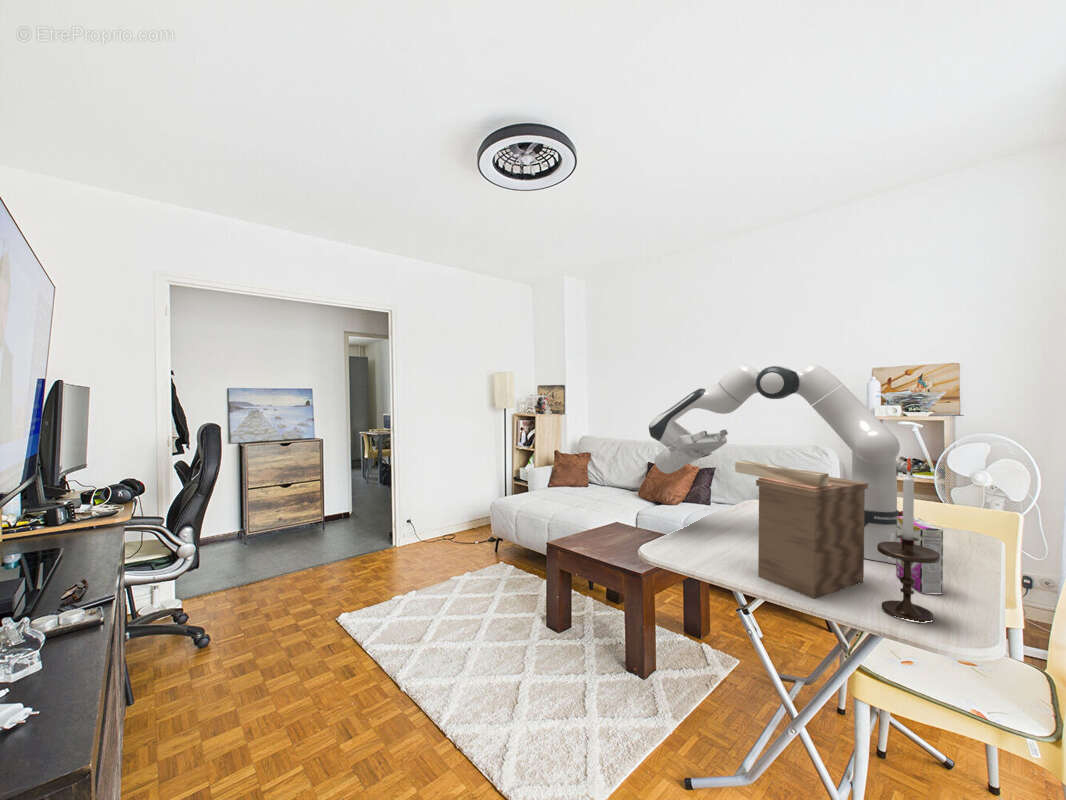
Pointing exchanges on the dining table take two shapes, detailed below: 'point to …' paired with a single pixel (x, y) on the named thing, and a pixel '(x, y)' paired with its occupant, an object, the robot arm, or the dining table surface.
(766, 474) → the birch block
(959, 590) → the dining table surface
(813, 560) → the walnut shelf
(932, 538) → the candy bar box
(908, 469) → the candlestick
